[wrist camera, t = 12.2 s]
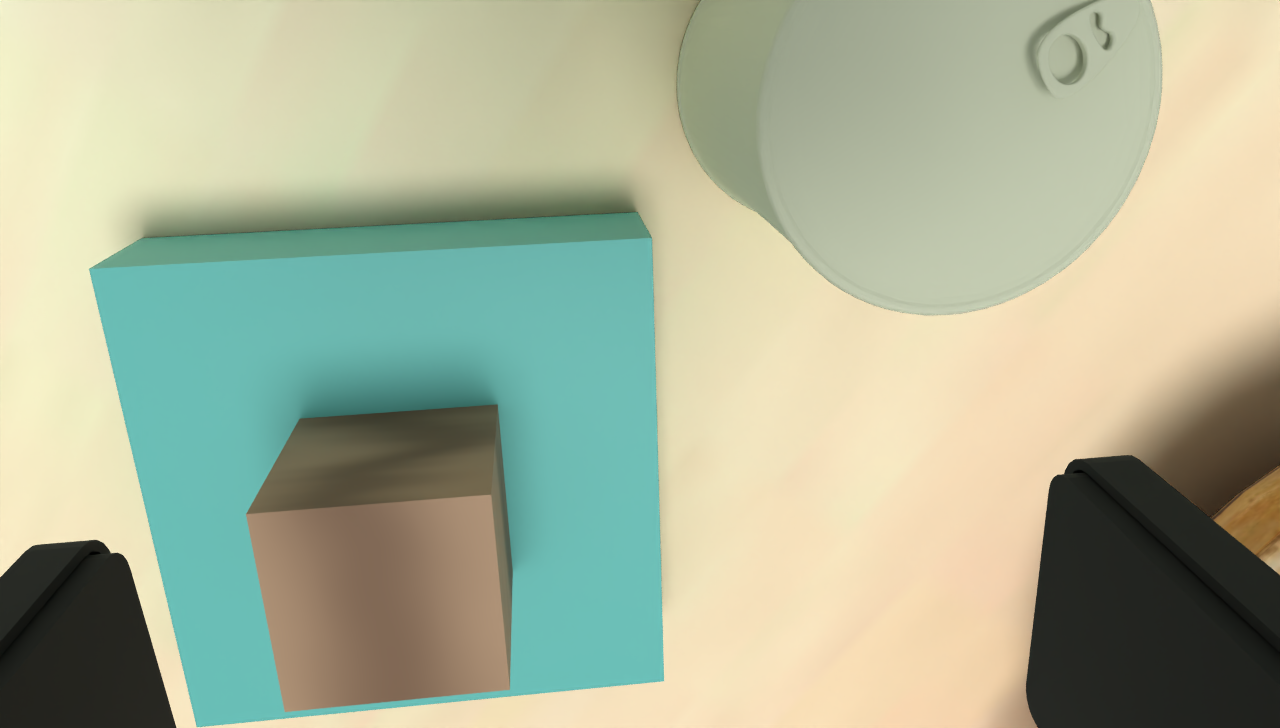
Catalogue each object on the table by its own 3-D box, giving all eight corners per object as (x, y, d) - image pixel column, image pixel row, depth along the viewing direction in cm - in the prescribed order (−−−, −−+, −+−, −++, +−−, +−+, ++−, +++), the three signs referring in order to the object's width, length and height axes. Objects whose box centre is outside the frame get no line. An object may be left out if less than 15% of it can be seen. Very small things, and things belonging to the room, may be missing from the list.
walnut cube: (498, 404, 30) (490, 494, 24) (512, 571, 32) (509, 689, 26) (299, 418, 29) (245, 514, 24) (328, 587, 31) (284, 711, 26)
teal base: (637, 212, 32) (652, 237, 29) (650, 615, 38) (663, 681, 34) (142, 238, 31) (88, 268, 27) (230, 653, 36) (197, 727, 33)
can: (996, 119, 33) (1241, 174, 21) (767, 271, 34) (887, 400, 22) (869, -136, 29) (1079, -228, 18) (620, 39, 30) (675, 54, 19)
